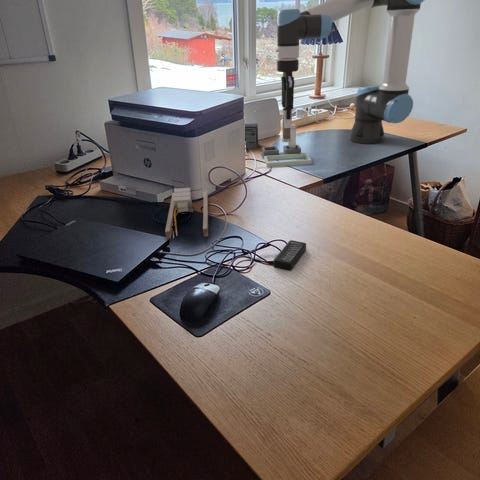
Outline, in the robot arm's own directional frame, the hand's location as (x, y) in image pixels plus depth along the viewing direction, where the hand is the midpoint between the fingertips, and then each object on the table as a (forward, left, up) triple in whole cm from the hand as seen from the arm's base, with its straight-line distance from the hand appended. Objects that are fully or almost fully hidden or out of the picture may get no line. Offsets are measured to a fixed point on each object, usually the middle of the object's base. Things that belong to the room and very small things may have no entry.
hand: (286, 126), depth 159 cm
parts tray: (0, 0, -15) cm, 15 cm away
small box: (+14, -26, -15) cm, 33 cm away
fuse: (-4, -9, -14) cm, 17 cm away
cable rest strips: (+37, +42, -15) cm, 58 cm away
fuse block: (+1, -9, -15) cm, 17 cm away
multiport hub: (+11, +71, -15) cm, 74 cm away
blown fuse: (0, 0, -6) cm, 6 cm away
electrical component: (+38, +45, -15) cm, 61 cm away
